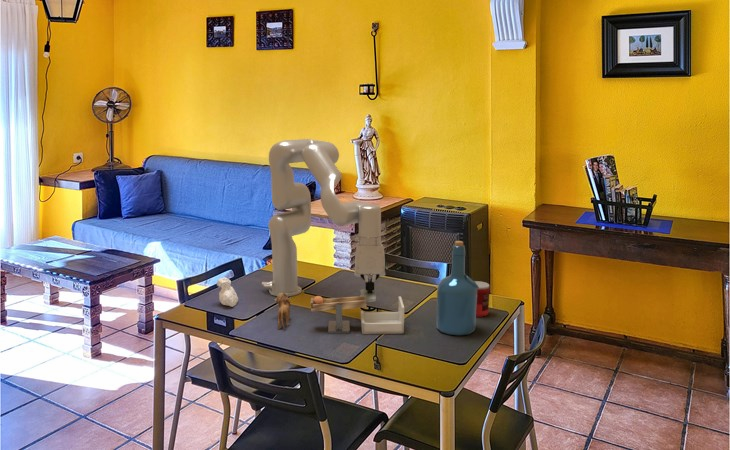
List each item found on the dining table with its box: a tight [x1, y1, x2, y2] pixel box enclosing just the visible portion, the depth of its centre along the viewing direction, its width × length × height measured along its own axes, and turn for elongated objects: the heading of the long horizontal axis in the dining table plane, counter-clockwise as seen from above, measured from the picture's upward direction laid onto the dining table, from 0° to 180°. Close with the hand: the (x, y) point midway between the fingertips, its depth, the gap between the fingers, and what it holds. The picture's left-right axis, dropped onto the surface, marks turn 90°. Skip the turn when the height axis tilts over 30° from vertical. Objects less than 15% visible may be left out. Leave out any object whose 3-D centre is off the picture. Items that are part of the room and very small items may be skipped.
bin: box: [360, 296, 405, 335], centre depth 199 cm, size 14×11×9 cm
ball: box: [313, 295, 324, 304], centre depth 197 cm, size 3×3×3 cm
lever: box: [310, 288, 377, 312], centre depth 203 cm, size 22×16×3 cm
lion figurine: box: [273, 293, 291, 331], centre depth 203 cm, size 15×5×9 cm, turn 13°
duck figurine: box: [216, 276, 239, 307], centre depth 221 cm, size 12×8×11 cm
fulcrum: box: [327, 304, 351, 334], centre depth 198 cm, size 7×9×9 cm
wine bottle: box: [435, 240, 479, 336], centre depth 196 cm, size 14×13×30 cm
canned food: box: [473, 280, 490, 318], centre depth 212 cm, size 8×8×11 cm
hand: (369, 292), depth 207 cm, fingers closed
